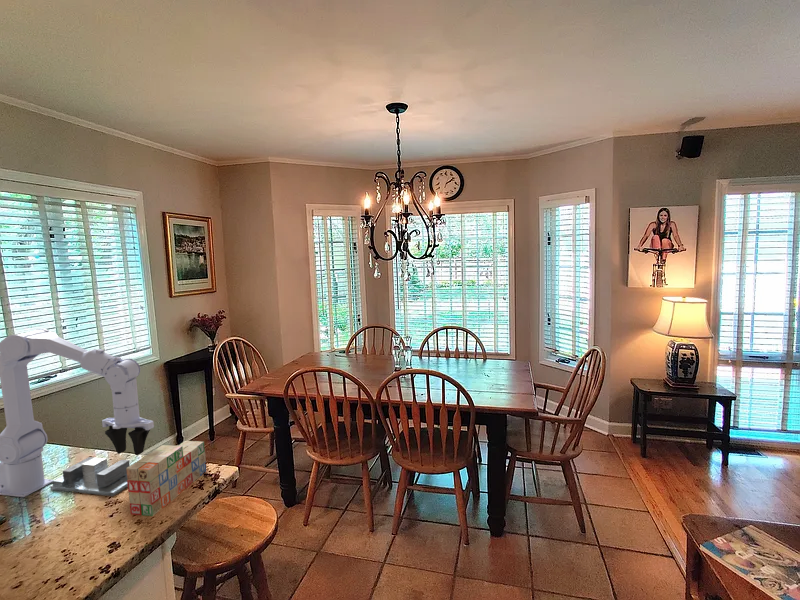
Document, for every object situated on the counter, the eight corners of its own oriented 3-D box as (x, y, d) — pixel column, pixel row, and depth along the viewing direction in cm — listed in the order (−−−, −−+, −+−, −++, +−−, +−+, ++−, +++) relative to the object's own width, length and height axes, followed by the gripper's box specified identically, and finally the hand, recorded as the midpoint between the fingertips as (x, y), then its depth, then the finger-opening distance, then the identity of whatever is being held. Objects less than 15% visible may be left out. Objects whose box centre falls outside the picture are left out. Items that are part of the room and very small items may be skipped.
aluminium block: (83, 481, 115) (81, 464, 114) (96, 473, 119) (94, 457, 118) (95, 482, 114) (93, 465, 113) (108, 474, 118) (106, 458, 117)
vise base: (50, 489, 113) (48, 472, 112) (87, 469, 123) (86, 453, 123) (113, 496, 109) (111, 479, 108) (145, 474, 120) (144, 458, 119)
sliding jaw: (97, 486, 111) (96, 474, 111) (122, 471, 119) (121, 459, 119) (105, 487, 111) (104, 474, 111) (130, 471, 119) (129, 460, 118)
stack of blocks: (187, 470, 122) (184, 430, 121) (207, 471, 121) (204, 431, 120) (129, 515, 101) (125, 467, 100) (152, 517, 100) (148, 469, 99)
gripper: (89, 409, 109) (94, 457, 111) (137, 411, 106) (141, 461, 108) (112, 399, 116) (117, 445, 117) (158, 402, 113) (161, 449, 115)
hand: (130, 452), depth 113 cm, fingers open, 5 cm apart
